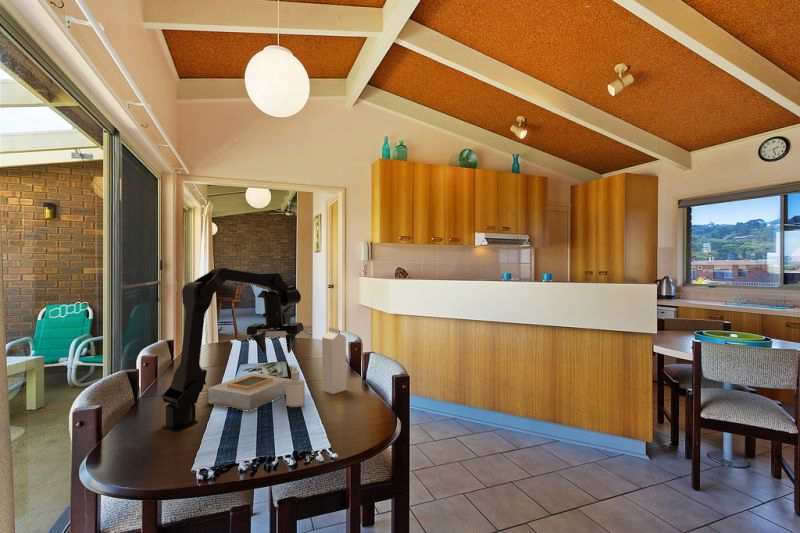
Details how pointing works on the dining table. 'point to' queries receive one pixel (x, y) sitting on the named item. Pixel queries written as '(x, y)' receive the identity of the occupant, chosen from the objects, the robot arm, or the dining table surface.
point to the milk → (334, 361)
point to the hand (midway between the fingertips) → (277, 352)
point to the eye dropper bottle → (295, 390)
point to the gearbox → (247, 391)
